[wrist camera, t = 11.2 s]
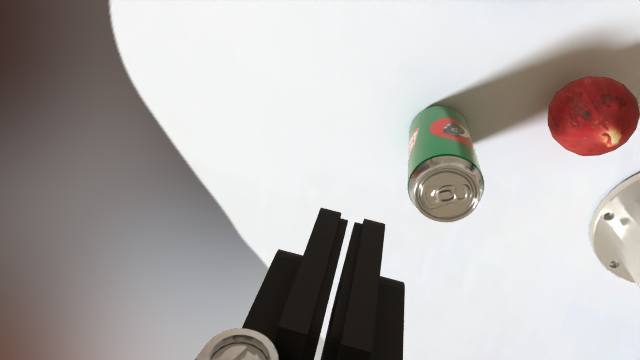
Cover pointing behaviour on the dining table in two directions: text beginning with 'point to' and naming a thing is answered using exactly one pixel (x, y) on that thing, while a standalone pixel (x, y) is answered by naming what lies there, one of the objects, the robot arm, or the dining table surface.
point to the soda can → (443, 165)
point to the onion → (593, 116)
